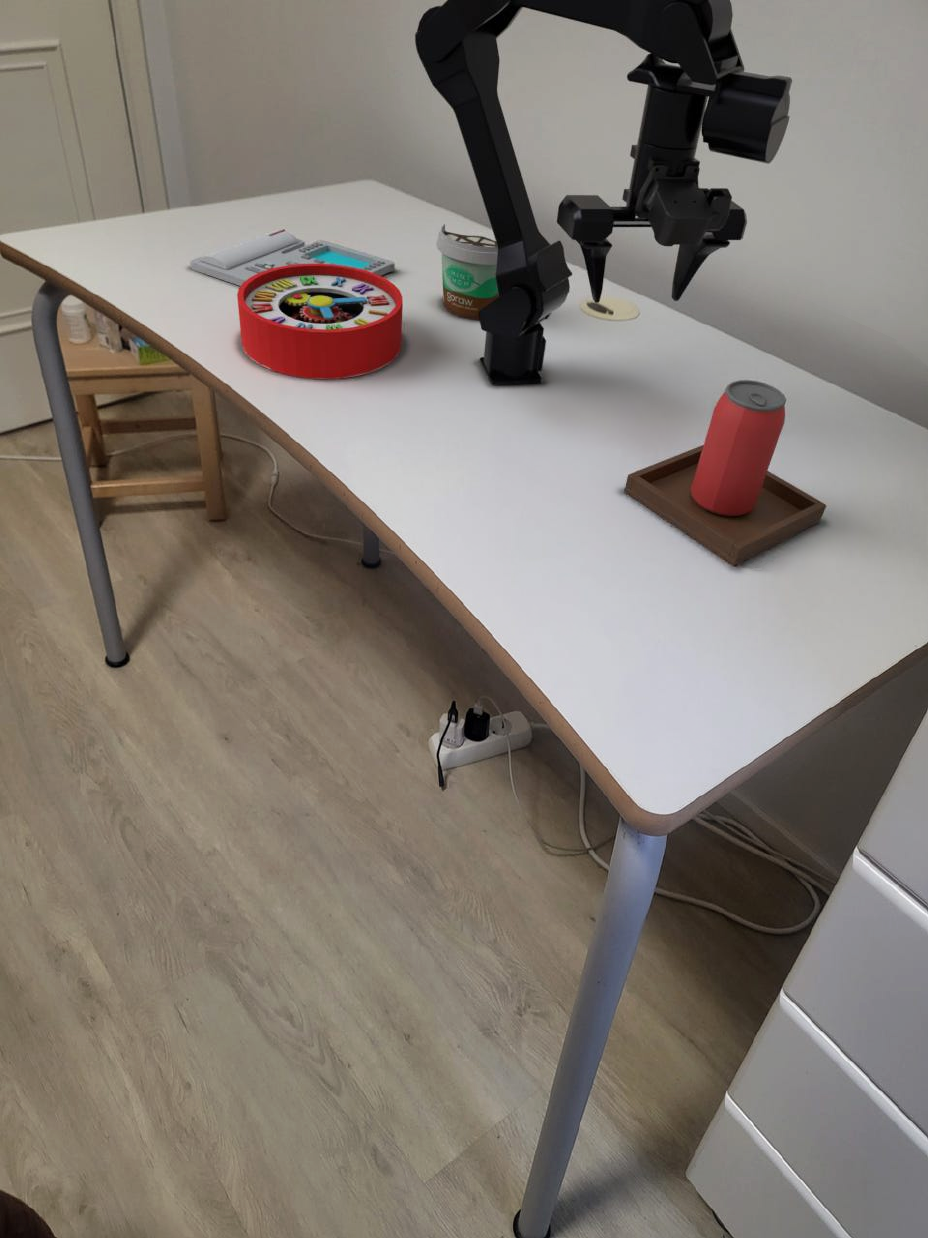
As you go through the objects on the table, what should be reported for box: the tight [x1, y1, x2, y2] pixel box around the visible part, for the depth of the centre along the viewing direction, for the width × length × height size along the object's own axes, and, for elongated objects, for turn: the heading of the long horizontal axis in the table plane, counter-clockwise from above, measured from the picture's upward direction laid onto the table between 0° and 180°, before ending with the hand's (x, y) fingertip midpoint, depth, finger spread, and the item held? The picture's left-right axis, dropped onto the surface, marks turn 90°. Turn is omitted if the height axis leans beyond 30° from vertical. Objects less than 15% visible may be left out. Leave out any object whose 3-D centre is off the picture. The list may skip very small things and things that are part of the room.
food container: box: [435, 223, 499, 321], centre depth 119 cm, size 12×6×10 cm, turn 68°
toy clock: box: [236, 263, 404, 380], centre depth 110 cm, size 20×6×20 cm
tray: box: [623, 444, 827, 567], centre depth 89 cm, size 15×14×2 cm
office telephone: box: [189, 228, 396, 287], centre depth 128 cm, size 23×3×20 cm
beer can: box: [691, 379, 787, 517], centre depth 86 cm, size 7×7×12 cm
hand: (635, 300), depth 96 cm, fingers open, 9 cm apart
